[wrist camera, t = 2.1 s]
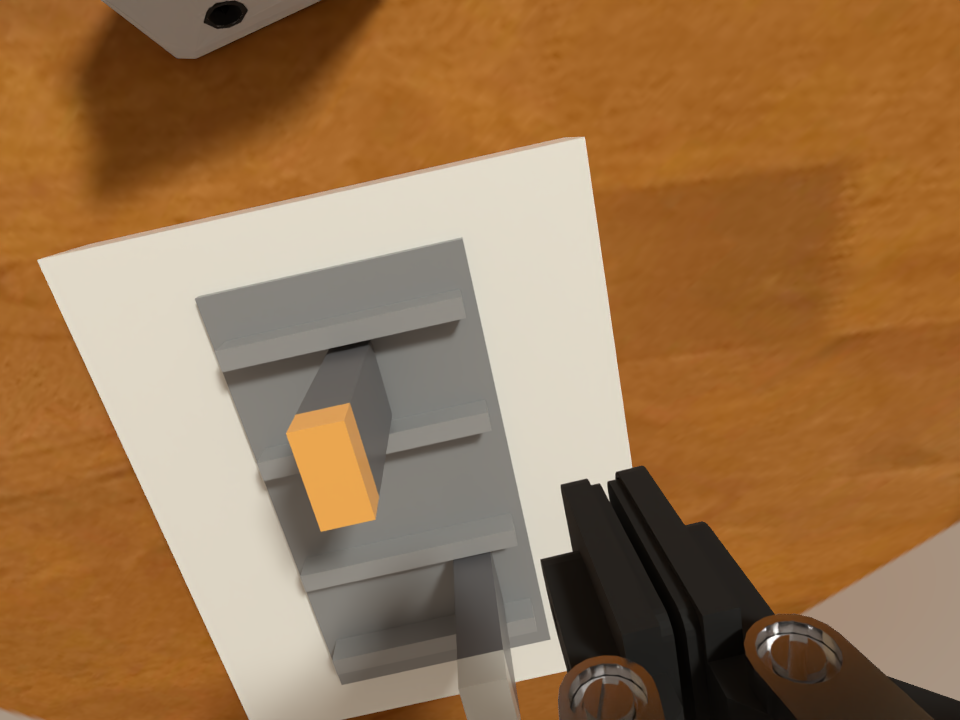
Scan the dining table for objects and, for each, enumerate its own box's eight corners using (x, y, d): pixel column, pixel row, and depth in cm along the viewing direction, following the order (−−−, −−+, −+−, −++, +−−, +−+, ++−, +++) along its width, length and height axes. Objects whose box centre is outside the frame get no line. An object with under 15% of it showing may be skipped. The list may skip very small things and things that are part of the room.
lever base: (564, 137, 25) (658, 135, 15) (636, 599, 34) (729, 813, 23) (89, 244, 26) (-158, 318, 15) (275, 678, 34) (201, 927, 23)
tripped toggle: (370, 339, 23) (344, 420, 17) (392, 414, 24) (375, 519, 18) (329, 348, 23) (286, 433, 17) (352, 423, 25) (320, 532, 18)
